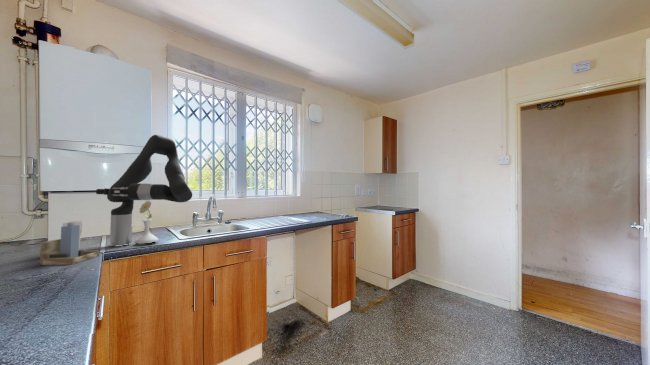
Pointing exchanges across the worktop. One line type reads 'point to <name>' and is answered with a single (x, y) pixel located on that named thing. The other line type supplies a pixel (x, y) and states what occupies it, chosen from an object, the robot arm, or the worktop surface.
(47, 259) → the box
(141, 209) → the flower in vase
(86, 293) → the worktop surface
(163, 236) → the worktop surface
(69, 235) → the blue square bottle
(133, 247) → the worktop surface
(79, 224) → the drinking glass
